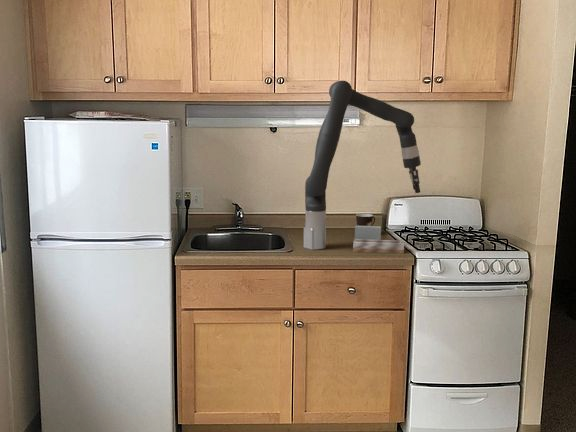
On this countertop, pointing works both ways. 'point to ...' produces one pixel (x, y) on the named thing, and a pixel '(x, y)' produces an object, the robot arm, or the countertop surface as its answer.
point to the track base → (378, 246)
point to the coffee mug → (364, 219)
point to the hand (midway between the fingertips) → (416, 191)
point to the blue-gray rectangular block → (368, 232)
